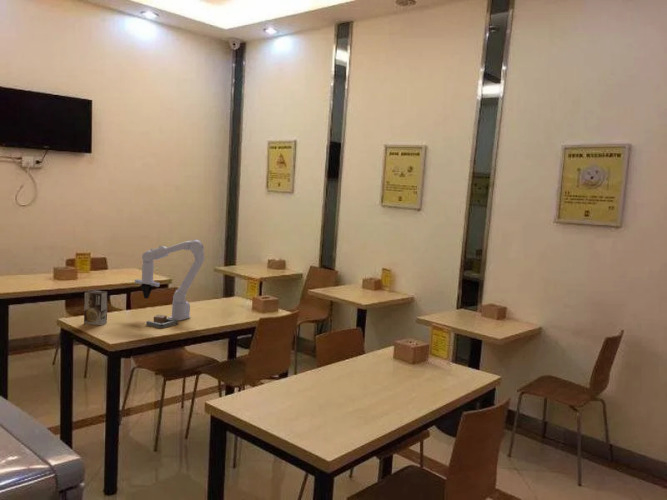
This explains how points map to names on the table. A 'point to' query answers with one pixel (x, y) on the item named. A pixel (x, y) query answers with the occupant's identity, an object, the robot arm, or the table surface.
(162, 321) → the walnut block
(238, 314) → the table surface
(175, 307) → the robot arm
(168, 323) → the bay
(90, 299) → the coffee box
